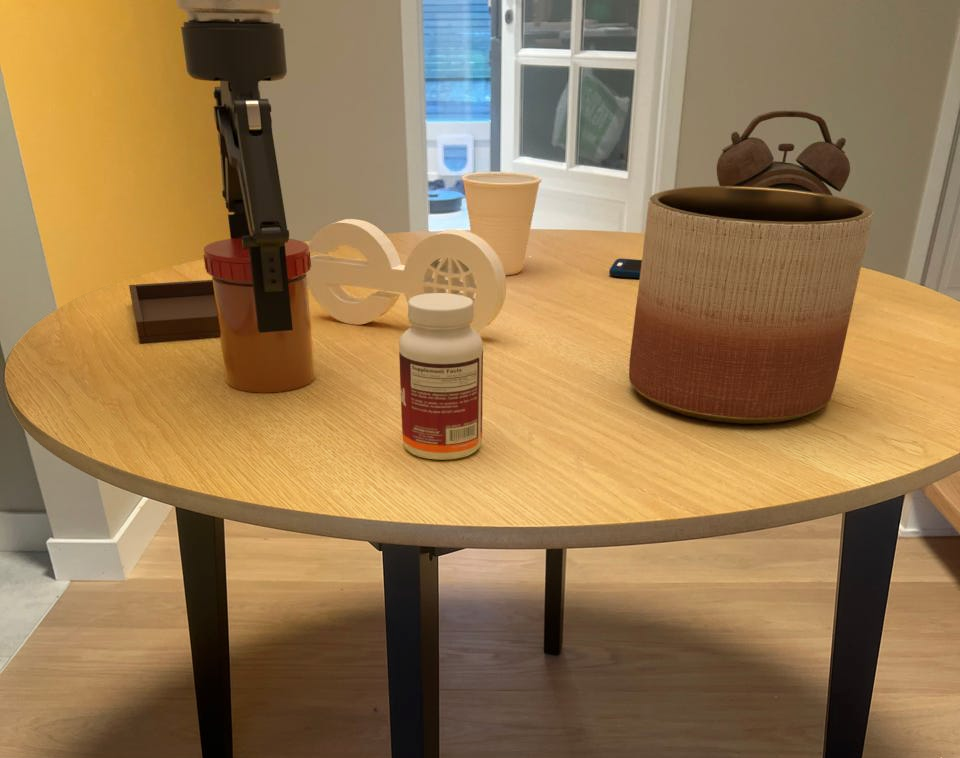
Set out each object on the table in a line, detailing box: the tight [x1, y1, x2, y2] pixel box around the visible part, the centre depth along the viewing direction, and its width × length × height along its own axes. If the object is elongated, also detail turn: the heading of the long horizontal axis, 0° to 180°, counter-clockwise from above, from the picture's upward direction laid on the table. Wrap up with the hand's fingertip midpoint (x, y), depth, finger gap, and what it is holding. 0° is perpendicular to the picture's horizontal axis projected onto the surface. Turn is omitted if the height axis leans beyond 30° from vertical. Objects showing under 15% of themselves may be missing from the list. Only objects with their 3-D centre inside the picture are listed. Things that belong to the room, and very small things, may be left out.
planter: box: [628, 185, 874, 425], centre depth 80 cm, size 18×18×16 cm
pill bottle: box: [398, 292, 484, 461], centre depth 70 cm, size 6×6×11 cm
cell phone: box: [608, 257, 642, 279], centre depth 121 cm, size 7×14×1 cm, turn 75°
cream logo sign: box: [306, 218, 507, 333], centre depth 97 cm, size 22×2×10 cm, turn 67°
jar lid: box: [203, 238, 311, 281], centre depth 80 cm, size 9×9×2 cm
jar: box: [211, 273, 316, 394], centre depth 83 cm, size 8×8×10 cm
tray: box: [128, 279, 220, 344], centre depth 101 cm, size 13×15×2 cm
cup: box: [461, 171, 543, 276], centre depth 119 cm, size 10×10×11 cm
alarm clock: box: [716, 110, 851, 196], centre depth 103 cm, size 15×7×20 cm, turn 92°
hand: (263, 309), depth 82 cm, fingers open, 13 cm apart
